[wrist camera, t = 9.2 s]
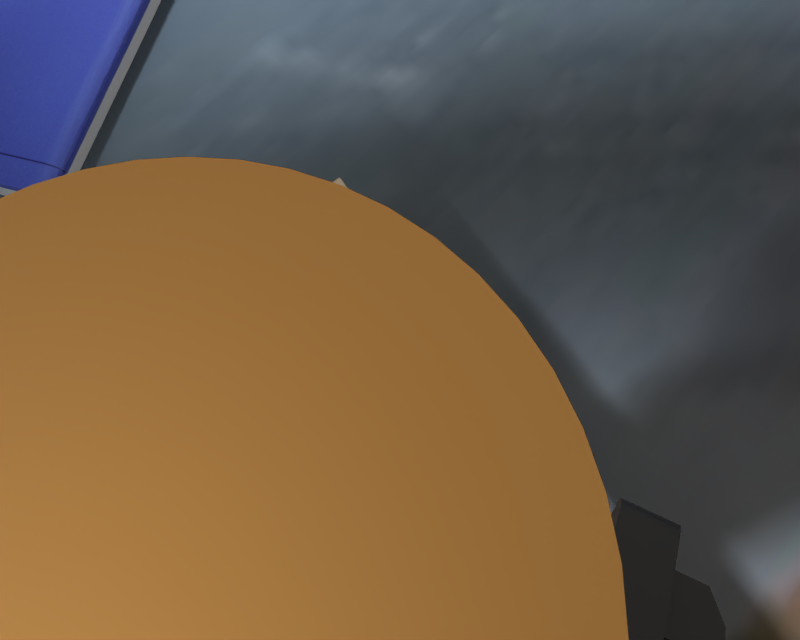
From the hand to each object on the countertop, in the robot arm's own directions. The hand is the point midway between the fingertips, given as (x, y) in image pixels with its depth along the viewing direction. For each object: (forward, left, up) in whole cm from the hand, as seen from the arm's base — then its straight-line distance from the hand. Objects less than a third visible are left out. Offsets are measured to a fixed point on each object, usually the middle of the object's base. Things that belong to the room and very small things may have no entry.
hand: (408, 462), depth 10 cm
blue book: (-24, -3, -13) cm, 27 cm away
